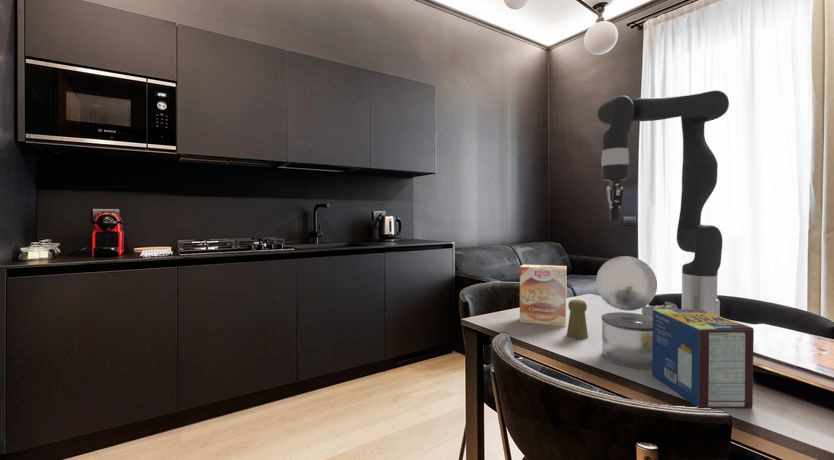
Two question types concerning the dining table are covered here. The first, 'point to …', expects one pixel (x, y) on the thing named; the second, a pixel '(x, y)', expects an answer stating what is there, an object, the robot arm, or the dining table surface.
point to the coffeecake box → (543, 294)
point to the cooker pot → (627, 339)
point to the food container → (649, 310)
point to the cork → (577, 320)
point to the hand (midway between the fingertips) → (614, 220)
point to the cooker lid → (626, 283)
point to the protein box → (703, 357)
